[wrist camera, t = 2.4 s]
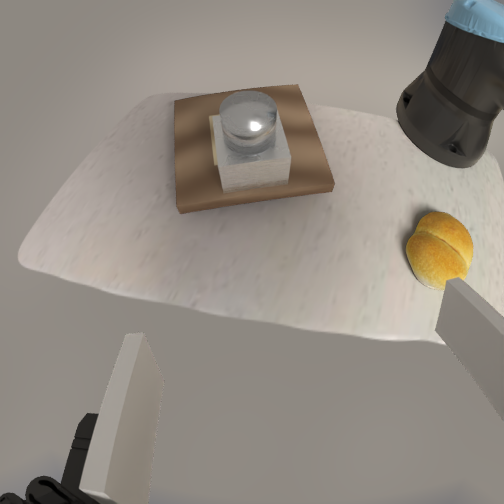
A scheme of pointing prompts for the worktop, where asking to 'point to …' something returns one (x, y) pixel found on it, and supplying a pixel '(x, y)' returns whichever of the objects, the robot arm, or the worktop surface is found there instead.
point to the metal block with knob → (250, 143)
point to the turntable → (205, 157)
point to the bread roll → (439, 250)
